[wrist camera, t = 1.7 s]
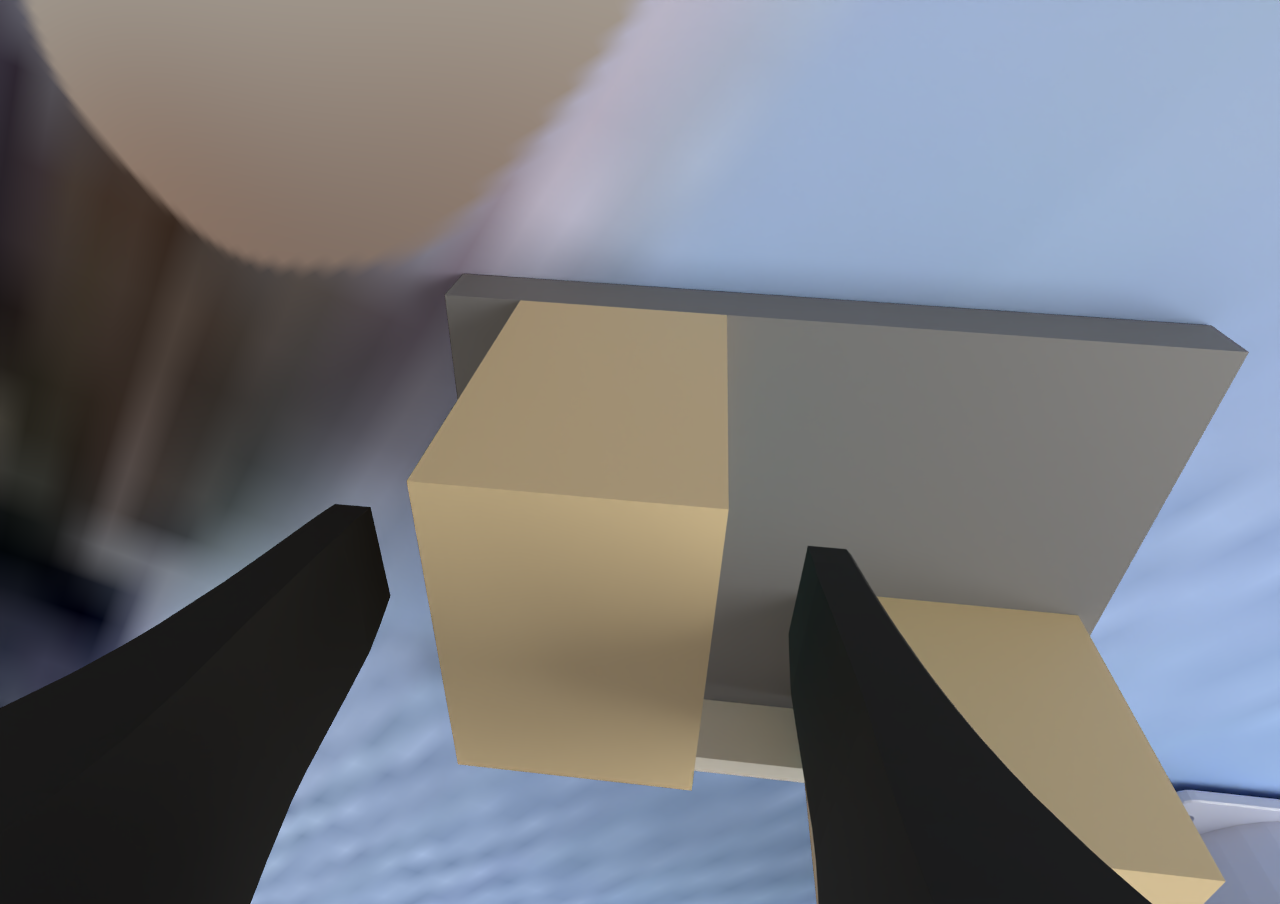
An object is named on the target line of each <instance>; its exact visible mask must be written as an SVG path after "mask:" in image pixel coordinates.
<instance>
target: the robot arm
mask: <svg viewBox="0 0 1280 904" xmlns="http://www.w3.org/2000/svg"><path fill="white" fill-rule="evenodd" d="M389 598H390V592H389V588H388V583H387V579H386V574H385V570H384V565H383V561H382V556H381V552H380V547H379V543H378V539H377V534H376V530H375V525H374V521H373V516H372V512H371V507H362V506H351V505H339V504H335V505H333V506H331V507H330V508H328V509H327V510H325V511H324V512H322V513H321V514H319V515H318V516H317V517H315V518H314V519H312V520H311V521H309V522H308V523H307V524H305V525H304V526H302V527H301V528H300V529H298V530H297V531H295V532H294V533H293V534H291V535H290V536H288V537H287V538H286V539H284V540H283V541H281V542H280V543H279V544H277V545H276V546H274V547H273V548H272V549H270V550H269V551H267V552H266V553H265V554H263V555H262V556H260V557H259V558H257V559H256V560H255V561H253V562H252V563H250V564H249V565H247V566H246V567H245V568H243V569H242V570H240V571H239V572H237V573H236V574H235V575H233V576H232V577H230V578H229V579H227V580H226V581H225V582H223V583H222V584H220V585H219V586H217V587H215V588H214V589H212V590H211V591H209V592H208V593H206V594H205V595H203V596H202V597H200V598H198V599H197V600H195V601H194V602H192V603H191V604H189V605H188V606H186V607H185V608H183V609H181V610H180V611H178V612H177V613H175V614H174V615H172V616H171V617H169V618H167V619H166V620H164V621H163V622H161V623H160V624H158V625H156V626H155V627H153V628H151V629H150V630H148V631H147V632H145V633H143V634H141V635H140V636H138V637H136V638H135V639H133V640H131V641H129V642H128V643H126V644H124V645H123V646H121V647H119V648H117V649H115V650H114V651H112V652H110V653H108V654H106V655H104V656H103V657H101V658H99V659H97V660H95V661H94V662H92V663H90V664H88V665H86V666H84V667H83V668H81V669H79V670H77V671H75V672H73V673H71V674H69V675H67V676H65V677H63V678H61V679H59V680H57V681H55V682H53V683H51V684H49V685H47V686H45V687H43V688H41V689H39V690H37V691H35V692H32V693H30V694H28V695H26V696H24V697H22V698H20V699H18V700H16V701H14V702H12V703H10V704H8V705H6V706H4V707H2V708H0V904H250V903H251V901H252V898H253V895H254V893H255V890H256V888H257V885H258V883H259V880H260V877H261V875H262V872H263V870H264V867H265V864H266V862H267V859H268V857H269V855H270V852H271V850H272V847H273V845H274V843H275V840H276V838H277V835H278V833H279V831H280V828H281V826H282V823H283V821H284V818H285V816H286V814H287V811H288V809H289V806H290V804H291V802H292V799H293V797H294V795H295V793H296V791H297V789H298V787H299V785H300V783H301V781H302V779H303V777H304V775H305V773H306V771H307V769H308V767H309V765H310V763H311V761H312V759H313V758H314V756H315V754H316V752H317V750H318V748H319V746H320V745H321V743H322V741H323V739H324V737H325V735H326V733H327V731H328V730H329V728H330V726H331V724H332V722H333V720H334V718H335V716H336V715H337V713H338V711H339V709H340V707H341V705H342V703H343V702H344V700H345V698H346V696H347V694H348V692H349V690H350V688H351V686H352V685H353V683H354V681H355V679H356V677H357V675H358V673H359V671H360V669H361V667H362V666H363V664H364V662H365V660H366V658H367V656H368V654H369V652H370V650H371V647H372V644H373V642H374V639H375V637H376V634H377V632H378V629H379V627H380V624H381V621H382V618H383V615H384V612H385V610H386V607H387V604H388V601H389ZM788 635H789V665H790V687H791V698H792V704H793V711H794V717H795V724H796V730H797V737H798V743H799V750H800V756H801V762H802V768H803V775H804V781H805V787H806V794H807V800H808V806H809V812H810V819H811V825H812V832H813V841H814V849H815V858H816V872H817V887H818V903H819V904H1152V903H1151V902H1149V901H1148V900H1147V899H1146V898H1145V897H1144V896H1143V895H1141V894H1140V893H1139V892H1138V891H1137V890H1136V889H1134V888H1133V887H1132V886H1131V885H1130V884H1129V883H1128V882H1126V881H1125V880H1124V879H1123V878H1122V877H1121V876H1119V875H1118V874H1117V873H1116V872H1115V871H1114V870H1113V869H1111V868H1110V867H1109V866H1108V865H1107V864H1106V863H1105V862H1104V861H1102V860H1101V859H1100V858H1099V857H1098V856H1097V855H1096V854H1095V853H1094V852H1093V851H1091V850H1090V849H1089V848H1088V847H1087V846H1086V845H1085V844H1084V843H1083V842H1082V841H1081V840H1080V839H1079V838H1078V837H1077V836H1076V835H1075V834H1074V833H1073V832H1072V831H1071V830H1070V829H1068V828H1067V827H1066V826H1065V825H1064V824H1063V823H1062V822H1061V821H1060V820H1059V819H1058V818H1057V817H1056V816H1055V815H1054V814H1053V813H1052V812H1051V811H1050V810H1049V809H1048V808H1047V807H1046V806H1045V805H1043V804H1042V803H1041V802H1040V801H1039V800H1038V799H1037V798H1036V797H1035V796H1034V795H1033V794H1032V793H1031V792H1030V791H1029V790H1028V789H1027V788H1026V786H1025V785H1024V784H1023V783H1022V782H1021V781H1020V780H1019V779H1018V778H1017V777H1016V776H1015V775H1014V774H1013V773H1012V772H1011V771H1010V770H1009V769H1008V768H1007V766H1006V765H1005V764H1004V763H1003V762H1002V761H1001V760H1000V759H999V758H998V756H997V755H996V754H995V753H994V752H993V751H992V750H991V749H990V748H989V746H988V745H987V744H986V743H985V742H984V741H983V740H982V739H981V737H980V736H979V735H978V734H977V733H976V732H975V730H974V729H973V728H972V727H971V726H970V724H969V723H968V722H967V721H966V720H965V718H964V717H963V716H962V715H961V714H960V712H959V711H958V710H957V709H956V707H955V706H954V705H953V704H952V702H951V701H950V700H949V698H948V697H947V696H946V695H945V693H944V692H943V691H942V689H941V688H940V687H939V686H938V684H937V683H936V682H935V680H934V679H933V678H932V676H931V675H930V674H929V672H928V671H927V670H926V668H925V667H924V666H923V664H922V663H921V662H920V660H919V659H918V657H917V656H916V654H915V653H914V652H913V650H912V649H911V647H910V646H909V644H908V643H907V642H906V640H905V639H904V637H903V636H902V634H901V633H900V632H899V630H898V629H897V627H896V626H895V624H894V623H893V621H892V620H891V618H890V617H889V615H888V614H887V612H886V610H885V609H884V607H883V606H882V604H881V603H880V601H879V600H878V598H877V596H876V595H875V593H874V592H873V590H872V588H871V587H870V585H869V583H868V582H867V580H866V579H865V577H864V575H863V574H862V572H861V570H860V569H859V567H858V565H857V563H856V562H855V560H854V558H853V557H852V555H851V554H850V553H849V552H848V550H847V549H840V548H829V547H817V546H808V547H807V552H806V556H805V561H804V565H803V570H802V574H801V579H800V584H799V588H798V593H797V597H796V602H795V606H794V611H793V615H792V620H791V625H790V629H789V634H788ZM1176 793H1177V794H1178V796H1179V798H1180V800H1181V802H1182V803H1183V805H1184V807H1185V809H1186V811H1187V812H1188V814H1189V816H1190V818H1191V820H1192V821H1193V823H1194V825H1195V827H1196V829H1197V830H1198V832H1199V834H1200V836H1201V838H1202V840H1203V841H1204V843H1205V845H1206V847H1207V849H1208V850H1209V852H1210V854H1211V856H1212V858H1213V859H1214V861H1215V863H1216V865H1217V867H1218V868H1219V870H1220V872H1221V874H1222V876H1223V877H1224V879H1225V881H1226V882H1225V883H1224V884H1223V885H1222V886H1221V887H1220V888H1219V889H1218V890H1217V891H1216V892H1215V893H1214V894H1213V895H1212V896H1211V897H1210V898H1209V899H1208V900H1207V901H1206V902H1205V903H1204V904H1280V799H1272V798H1263V797H1253V796H1244V795H1235V794H1225V793H1216V792H1207V791H1198V790H1182V791H1178V792H1176Z"/></svg>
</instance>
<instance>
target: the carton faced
mask: <svg viewBox="0 0 1280 904" xmlns="http://www.w3.org/2000/svg"><path fill="white" fill-rule="evenodd" d="M877 598H878V600H879V601H880V603H881V604H882V606H883V607H884V609H885V610H886V612H887V614H888V615H889V617H890V618H891V620H892V621H893V623H894V624H895V626H896V627H897V629H898V630H899V632H900V633H901V634H902V636H903V637H904V639H905V640H906V642H907V643H908V644H909V646H910V647H911V649H912V650H913V652H914V653H915V654H916V656H917V657H918V659H919V660H920V662H921V663H922V664H923V666H924V667H925V668H926V670H927V671H928V672H929V674H930V675H931V676H932V678H933V679H934V680H935V682H936V683H937V684H938V686H939V687H940V688H941V689H942V691H943V692H944V693H945V695H946V696H947V697H948V698H949V700H950V701H951V702H952V704H953V705H954V706H955V707H956V709H957V710H958V711H959V712H960V714H961V715H962V716H963V717H964V718H965V720H966V721H967V722H968V723H969V724H970V726H971V727H972V728H973V729H974V730H975V732H976V733H977V734H978V735H979V736H980V737H981V739H982V740H983V741H984V742H985V743H986V744H987V745H988V746H989V748H990V749H991V750H992V751H993V752H994V753H995V754H996V755H997V756H998V758H999V759H1000V760H1001V761H1002V762H1003V763H1004V764H1005V765H1006V766H1007V768H1008V769H1009V770H1010V771H1011V772H1012V773H1013V774H1014V775H1015V776H1016V777H1017V778H1018V779H1019V780H1020V781H1021V782H1022V783H1023V784H1024V785H1025V786H1026V788H1027V789H1028V790H1029V791H1030V792H1031V793H1032V794H1033V795H1034V796H1035V797H1036V798H1037V799H1038V800H1039V801H1040V802H1041V803H1042V804H1043V805H1045V806H1046V807H1047V808H1048V809H1049V810H1050V811H1051V812H1052V813H1053V814H1054V815H1055V816H1056V817H1057V818H1058V819H1059V820H1060V821H1061V822H1062V823H1063V824H1064V825H1065V826H1066V827H1067V828H1068V829H1070V830H1071V831H1072V832H1073V833H1074V834H1075V835H1076V836H1077V837H1078V838H1079V839H1080V840H1081V841H1082V842H1083V843H1084V844H1085V845H1086V846H1087V847H1088V848H1089V849H1090V850H1091V851H1093V852H1094V853H1095V854H1096V855H1097V856H1098V857H1099V858H1100V859H1101V860H1102V861H1104V862H1105V863H1106V864H1107V865H1108V866H1109V867H1110V868H1111V869H1113V870H1114V871H1115V872H1116V873H1117V874H1118V875H1119V876H1121V877H1122V878H1123V879H1124V880H1125V881H1126V882H1128V883H1129V884H1130V885H1131V886H1132V887H1133V888H1134V889H1136V890H1137V891H1138V892H1139V893H1140V894H1141V895H1143V896H1144V897H1145V898H1146V899H1147V900H1148V901H1149V902H1151V903H1152V904H1204V903H1205V902H1206V901H1207V900H1208V899H1209V898H1210V897H1211V896H1212V895H1213V894H1214V893H1215V892H1216V891H1217V890H1218V889H1219V888H1220V887H1221V886H1222V885H1223V884H1224V883H1225V882H1226V881H1225V879H1224V877H1223V876H1222V874H1221V872H1220V870H1219V868H1218V867H1217V865H1216V863H1215V861H1214V859H1213V858H1212V856H1211V854H1210V852H1209V850H1208V849H1207V847H1206V845H1205V843H1204V841H1203V840H1202V838H1201V836H1200V834H1199V832H1198V830H1197V829H1196V827H1195V825H1194V823H1193V821H1192V820H1191V818H1190V816H1189V814H1188V812H1187V811H1186V809H1185V807H1184V805H1183V803H1182V802H1181V800H1180V798H1179V796H1178V794H1177V793H1176V791H1175V789H1174V787H1173V785H1172V784H1171V782H1170V780H1169V778H1168V776H1167V775H1166V773H1165V771H1164V769H1163V767H1162V766H1161V764H1160V762H1159V760H1158V758H1157V757H1156V755H1155V753H1154V751H1153V749H1152V748H1151V746H1150V744H1149V742H1148V740H1147V739H1146V737H1145V735H1144V733H1143V731H1142V729H1141V728H1140V726H1139V724H1138V722H1137V720H1136V719H1135V717H1134V715H1133V713H1132V711H1131V710H1130V708H1129V706H1128V704H1127V702H1126V701H1125V699H1124V697H1123V695H1122V693H1121V692H1120V690H1119V688H1118V686H1117V684H1116V683H1115V681H1114V679H1113V677H1112V675H1111V674H1110V672H1109V670H1108V668H1107V666H1106V665H1105V663H1104V661H1103V659H1102V657H1101V656H1100V654H1099V652H1098V650H1097V648H1096V647H1095V645H1094V643H1093V641H1092V639H1091V638H1090V636H1089V634H1088V632H1087V630H1086V628H1085V627H1084V625H1083V623H1082V621H1081V619H1080V618H1079V616H1078V615H1068V614H1058V613H1047V612H1037V611H1026V610H1015V609H1005V608H994V607H983V606H973V605H962V604H952V603H941V602H930V601H920V600H909V599H898V598H888V597H877ZM805 791H806V787H805ZM806 801H807V811H808V821H809V831H810V841H811V851H812V861H813V871H814V881H815V891H816V901H817V904H819V903H818V887H817V872H816V858H815V849H814V841H813V832H812V825H811V819H810V812H809V806H808V800H807V794H806Z"/></svg>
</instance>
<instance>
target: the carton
mask: <svg viewBox="0 0 1280 904" xmlns="http://www.w3.org/2000/svg"><path fill="white" fill-rule="evenodd" d="M407 486H408V491H409V497H410V502H411V508H412V513H413V519H414V524H415V530H416V535H417V541H418V546H419V552H420V557H421V563H422V568H423V574H424V579H425V585H426V590H427V596H428V601H429V607H430V612H431V618H432V624H433V629H434V635H435V640H436V646H437V651H438V657H439V662H440V668H441V673H442V679H443V684H444V690H445V695H446V701H447V706H448V712H449V717H450V723H451V728H452V734H453V739H454V745H455V750H456V756H457V761H458V764H460V765H469V766H478V767H487V768H496V769H505V770H514V771H523V772H532V773H541V774H549V775H558V776H567V777H576V778H585V779H594V780H603V781H612V782H621V783H630V784H638V785H647V786H656V787H665V788H674V789H683V790H692V783H693V775H694V768H695V760H696V752H697V745H698V737H699V730H700V722H701V715H702V707H703V700H704V692H705V684H706V677H707V669H708V662H709V654H710V647H711V639H712V632H713V624H714V616H715V609H716V601H717V594H718V586H719V579H720V571H721V564H722V556H723V549H724V541H725V533H726V526H727V518H728V511H729V491H728V379H727V315H719V314H705V313H691V312H677V311H663V310H649V309H635V308H621V307H607V306H593V305H579V304H565V303H551V302H537V301H523V300H520V302H519V303H518V305H517V306H516V308H515V310H514V311H513V313H512V314H511V316H510V318H509V319H508V321H507V322H506V324H505V326H504V327H503V329H502V330H501V332H500V334H499V335H498V337H497V338H496V340H495V341H494V343H493V345H492V346H491V348H490V349H489V351H488V353H487V354H486V356H485V357H484V359H483V361H482V362H481V364H480V365H479V367H478V369H477V370H476V372H475V373H474V375H473V376H472V378H471V380H470V381H469V383H468V384H467V386H466V388H465V389H464V391H463V392H462V394H461V396H460V397H459V399H458V400H457V402H456V404H455V405H454V407H453V408H452V410H451V412H450V413H449V415H448V416H447V418H446V419H445V421H444V423H443V424H442V426H441V427H440V429H439V431H438V432H437V434H436V435H435V437H434V439H433V440H432V442H431V443H430V445H429V447H428V448H427V450H426V451H425V453H424V454H423V456H422V458H421V459H420V461H419V462H418V464H417V466H416V467H415V469H414V470H413V472H412V474H411V475H410V477H409V478H408V480H407Z"/></svg>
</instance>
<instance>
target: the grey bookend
mask: <svg viewBox="0 0 1280 904" xmlns="http://www.w3.org/2000/svg"><path fill="white" fill-rule="evenodd" d="M520 300H523V301H537V302H551V303H565V304H579V305H593V306H607V307H621V308H635V309H649V310H663V311H677V312H691V313H705V314H719V315H727V379H728V491H729V511H728V518H727V526H726V533H725V541H724V549H723V556H722V564H721V571H720V579H719V586H718V594H717V601H716V609H715V616H714V624H713V632H712V639H711V647H710V654H709V662H708V669H707V677H706V684H705V692H704V700H703V707H702V715H701V722H700V730H699V737H698V745H697V752H696V760H695V768H694V771H702V772H711V773H720V774H729V775H738V776H747V777H756V778H765V779H774V780H783V781H792V782H801V783H805V781H804V775H803V768H802V762H801V756H800V750H799V743H798V737H797V730H796V724H795V717H794V711H793V704H792V698H791V687H790V665H789V635H788V634H789V629H790V625H791V620H792V615H793V611H794V606H795V602H796V597H797V593H798V588H799V584H800V579H801V574H802V570H803V565H804V561H805V556H806V552H807V547H808V546H817V547H829V548H840V549H847V550H848V552H849V553H850V554H851V555H852V557H853V558H854V560H855V562H856V563H857V565H858V567H859V569H860V570H861V572H862V574H863V575H864V577H865V579H866V580H867V582H868V583H869V585H870V587H871V588H872V590H873V592H874V593H875V595H876V596H877V597H888V598H898V599H909V600H920V601H930V602H941V603H952V604H962V605H973V606H983V607H994V608H1005V609H1015V610H1026V611H1037V612H1047V613H1058V614H1068V615H1078V616H1079V618H1080V619H1081V621H1082V623H1083V625H1084V627H1085V628H1086V630H1087V632H1088V634H1089V636H1090V635H1091V633H1092V631H1093V629H1094V627H1095V626H1096V624H1097V622H1098V620H1099V619H1100V617H1101V615H1102V613H1103V611H1104V610H1105V608H1106V606H1107V604H1108V603H1109V601H1110V599H1111V597H1112V595H1113V594H1114V592H1115V590H1116V588H1117V586H1118V585H1119V583H1120V581H1121V579H1122V578H1123V576H1124V574H1125V572H1126V570H1127V569H1128V567H1129V565H1130V563H1131V561H1132V560H1133V558H1134V556H1135V554H1136V553H1137V551H1138V549H1139V547H1140V545H1141V544H1142V542H1143V540H1144V538H1145V536H1146V535H1147V533H1148V531H1149V529H1150V528H1151V526H1152V524H1153V522H1154V520H1155V519H1156V517H1157V515H1158V513H1159V511H1160V510H1161V508H1162V506H1163V504H1164V503H1165V501H1166V499H1167V497H1168V495H1169V494H1170V492H1171V490H1172V488H1173V486H1174V485H1175V483H1176V481H1177V479H1178V478H1179V476H1180V474H1181V472H1182V470H1183V469H1184V467H1185V465H1186V463H1187V461H1188V460H1189V458H1190V456H1191V454H1192V453H1193V451H1194V449H1195V447H1196V445H1197V444H1198V442H1199V440H1200V438H1201V437H1202V435H1203V433H1204V431H1205V429H1206V428H1207V426H1208V424H1209V422H1210V420H1211V419H1212V417H1213V415H1214V413H1215V412H1216V410H1217V408H1218V406H1219V404H1220V403H1221V401H1222V399H1223V397H1224V395H1225V394H1226V392H1227V390H1228V388H1229V387H1230V385H1231V383H1232V381H1233V379H1234V378H1235V376H1236V374H1237V372H1238V370H1239V369H1240V367H1241V365H1242V363H1243V362H1244V360H1245V358H1246V356H1247V354H1248V353H1249V352H1248V351H1246V350H1245V349H1244V348H1242V347H1241V346H1239V345H1238V344H1237V343H1235V342H1234V341H1232V340H1231V339H1230V338H1228V337H1227V336H1225V335H1224V334H1223V333H1221V332H1220V331H1218V330H1217V329H1216V328H1214V327H1213V326H1211V325H1196V324H1182V323H1167V322H1153V321H1138V320H1124V319H1109V318H1095V317H1081V316H1066V315H1052V314H1037V313H1023V312H1008V311H994V310H979V309H965V308H951V307H936V306H922V305H907V304H893V303H878V302H864V301H849V300H835V299H821V298H806V297H792V296H777V295H763V294H748V293H734V292H719V291H705V290H691V289H676V288H662V287H647V286H633V285H618V284H604V283H589V282H575V281H561V280H546V279H532V278H517V277H503V276H488V275H474V274H463V275H462V276H461V277H460V278H459V279H458V280H457V282H456V283H455V284H454V285H453V286H452V287H451V288H450V290H449V291H448V292H447V293H446V294H445V301H446V309H447V317H448V325H449V334H450V342H451V350H452V358H453V366H454V374H455V382H456V391H457V399H459V397H460V396H461V394H462V392H463V391H464V389H465V388H466V386H467V384H468V383H469V381H470V380H471V378H472V376H473V375H474V373H475V372H476V370H477V369H478V367H479V365H480V364H481V362H482V361H483V359H484V357H485V356H486V354H487V353H488V351H489V349H490V348H491V346H492V345H493V343H494V341H495V340H496V338H497V337H498V335H499V334H500V332H501V330H502V329H503V327H504V326H505V324H506V322H507V321H508V319H509V318H510V316H511V314H512V313H513V311H514V310H515V308H516V306H517V305H518V303H519V302H520Z"/></svg>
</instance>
